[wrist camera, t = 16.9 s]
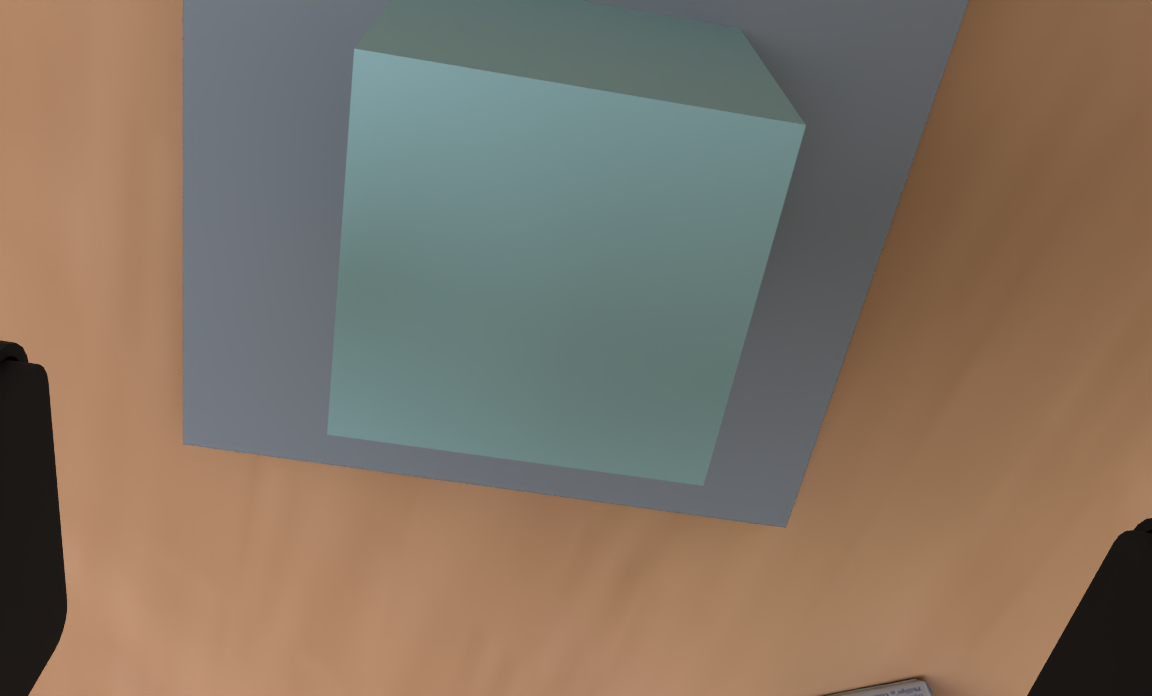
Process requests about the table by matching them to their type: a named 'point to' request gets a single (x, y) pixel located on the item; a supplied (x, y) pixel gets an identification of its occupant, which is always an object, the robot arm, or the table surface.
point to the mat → (314, 221)
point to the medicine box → (892, 689)
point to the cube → (554, 232)
